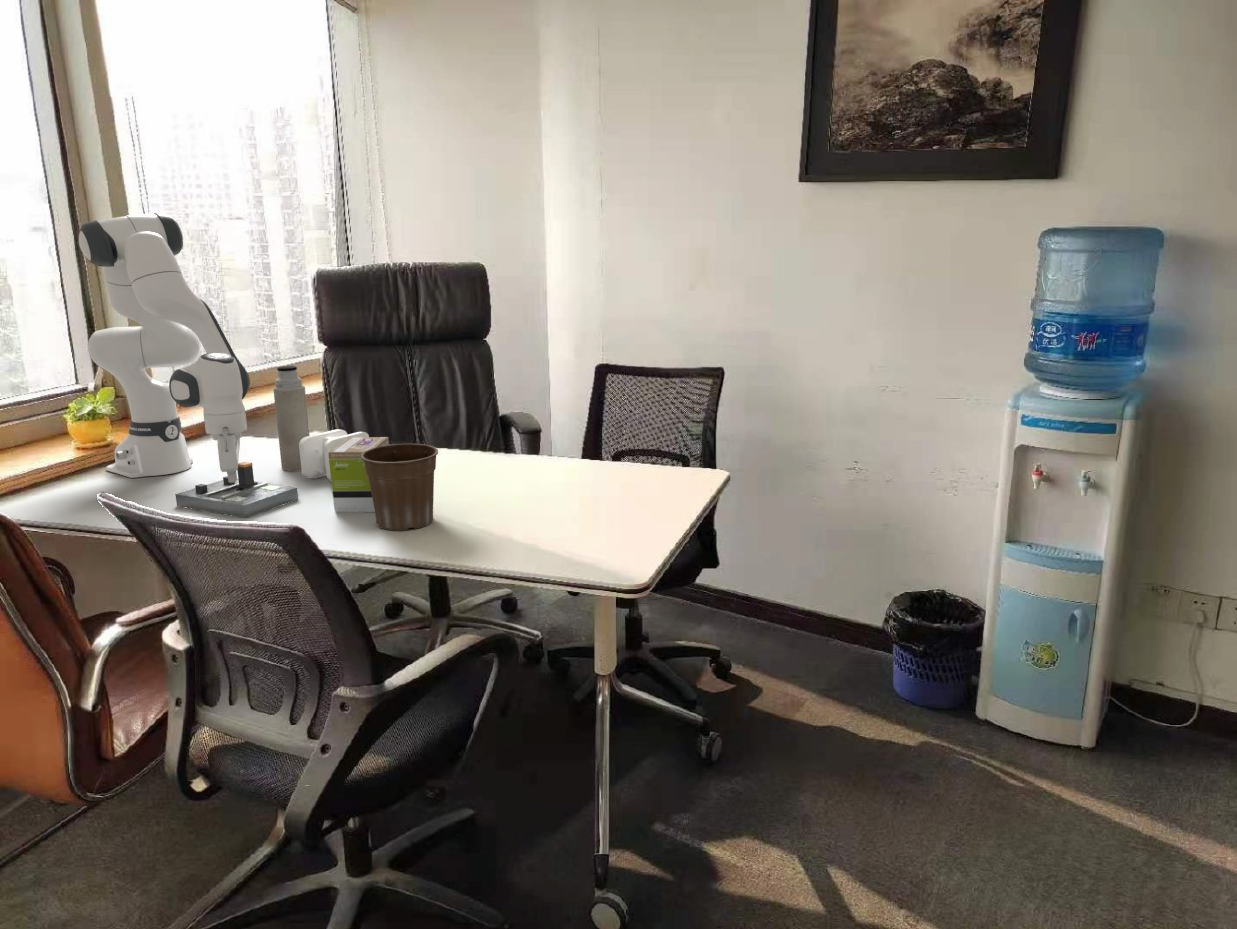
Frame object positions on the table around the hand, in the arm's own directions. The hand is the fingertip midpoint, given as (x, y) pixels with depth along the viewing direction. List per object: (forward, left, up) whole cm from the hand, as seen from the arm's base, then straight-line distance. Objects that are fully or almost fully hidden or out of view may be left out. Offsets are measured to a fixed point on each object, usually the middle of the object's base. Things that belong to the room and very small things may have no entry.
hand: (232, 481), depth 201 cm
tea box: (+28, +13, -6) cm, 31 cm away
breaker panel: (0, +1, -6) cm, 6 cm away
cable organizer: (+5, +29, -6) cm, 30 cm away
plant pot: (+46, +5, -6) cm, 47 cm away
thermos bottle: (-12, +32, -6) cm, 34 cm away
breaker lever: (0, +4, -2) cm, 4 cm away
